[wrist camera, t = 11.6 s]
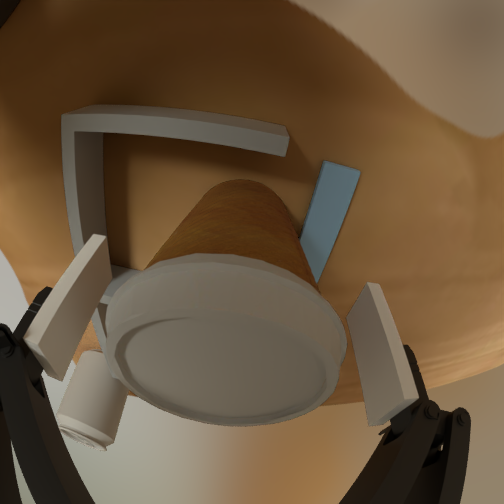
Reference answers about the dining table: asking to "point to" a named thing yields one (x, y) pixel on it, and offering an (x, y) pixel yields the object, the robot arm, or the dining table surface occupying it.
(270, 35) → the dining table surface
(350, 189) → the blue rectangular block
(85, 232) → the comb rack
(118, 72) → the dining table surface
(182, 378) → the disposable coffee cup
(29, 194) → the dining table surface
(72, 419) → the can
